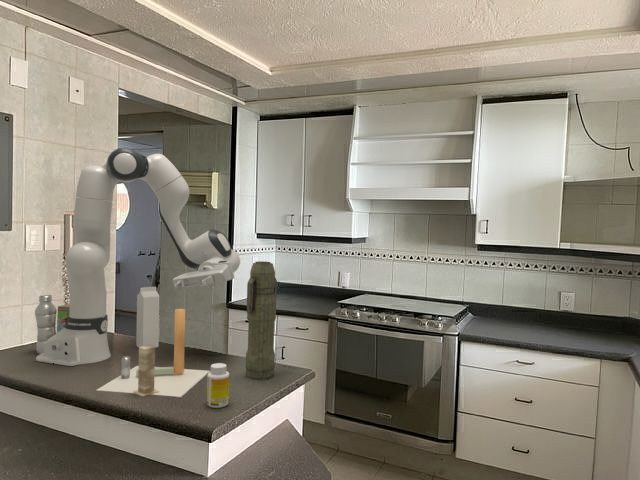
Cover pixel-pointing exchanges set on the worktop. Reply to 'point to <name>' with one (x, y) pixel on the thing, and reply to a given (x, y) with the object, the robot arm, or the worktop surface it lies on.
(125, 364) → the post
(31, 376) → the worktop surface
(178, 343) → the orange upright dowel
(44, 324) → the plastic bottle
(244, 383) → the worktop surface
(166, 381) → the base board
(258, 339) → the thermos
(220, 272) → the robot arm
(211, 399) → the supplement bottle
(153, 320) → the milk
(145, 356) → the post
